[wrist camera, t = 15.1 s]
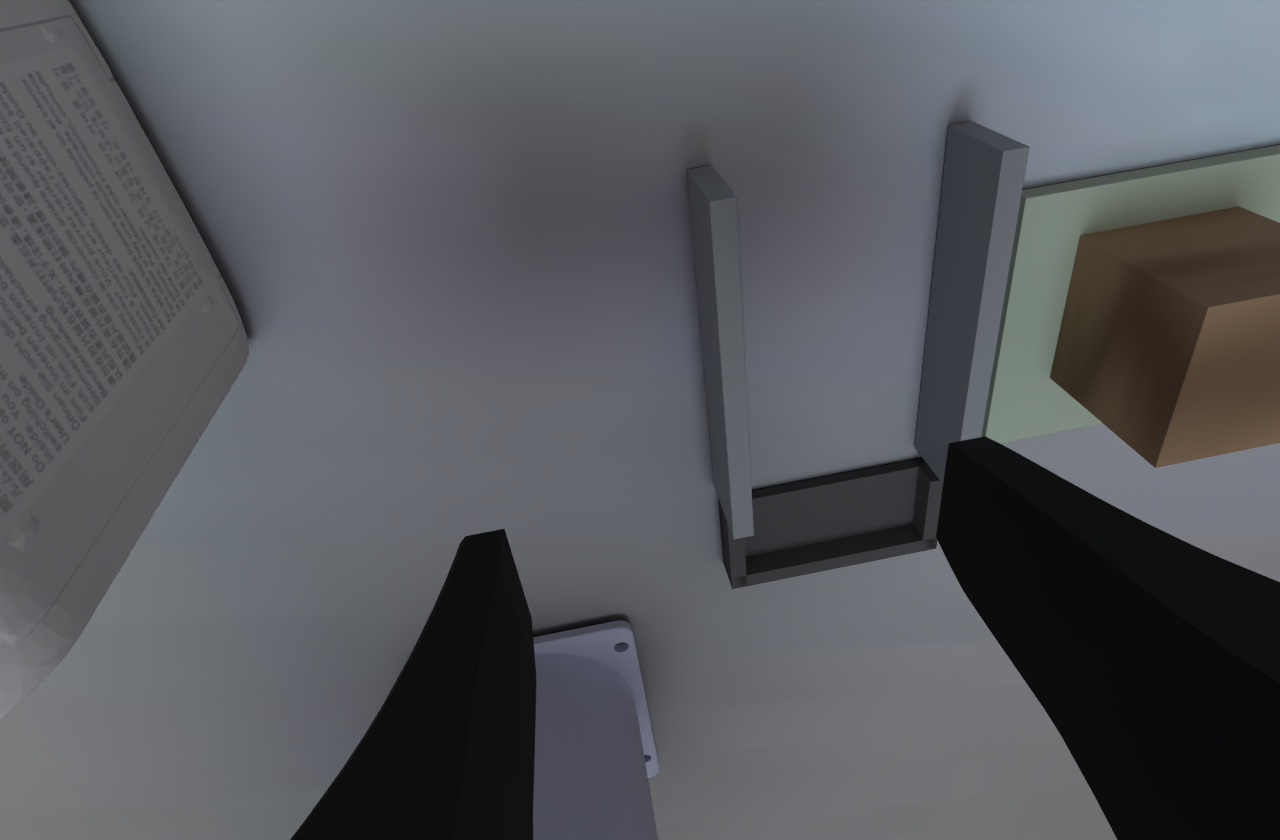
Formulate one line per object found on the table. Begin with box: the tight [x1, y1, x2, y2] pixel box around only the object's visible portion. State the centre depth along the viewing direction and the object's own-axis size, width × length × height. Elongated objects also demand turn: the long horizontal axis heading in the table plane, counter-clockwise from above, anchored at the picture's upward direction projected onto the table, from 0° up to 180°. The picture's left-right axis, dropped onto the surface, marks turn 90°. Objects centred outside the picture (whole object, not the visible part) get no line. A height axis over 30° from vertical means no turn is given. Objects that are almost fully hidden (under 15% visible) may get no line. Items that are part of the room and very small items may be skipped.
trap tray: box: [718, 458, 943, 589], centre depth 25 cm, size 3×7×1 cm, turn 97°
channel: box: [687, 121, 1029, 539], centre depth 20 cm, size 10×7×2 cm
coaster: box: [981, 145, 1280, 443], centre depth 22 cm, size 8×8×1 cm
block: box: [1050, 206, 1280, 468], centre depth 20 cm, size 4×4×4 cm
